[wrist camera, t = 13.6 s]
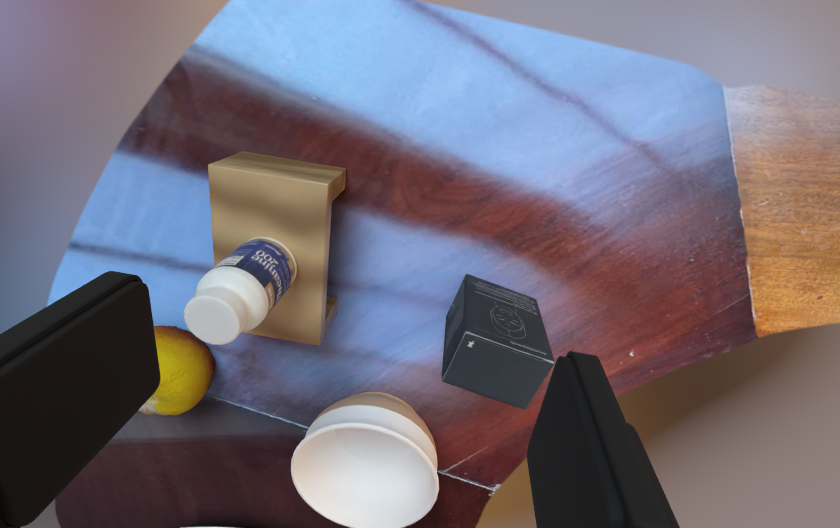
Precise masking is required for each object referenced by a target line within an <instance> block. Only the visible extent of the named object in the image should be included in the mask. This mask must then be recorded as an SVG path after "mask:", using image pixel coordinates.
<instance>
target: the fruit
mask: <svg viewBox="0 0 840 528" xmlns="http://www.w3.org/2000/svg"><path fill="white" fill-rule="evenodd" d="M154 333H155V340H156V347H157V354H158V361H159V368H160V375H161V379H160V384H159V387H158V388H157V390H156V392H155V393H154V394H153V395H152V396H151V397H150V398H149V399H148V400H147V401H146V403H145V404H144V405H143V406H142V407H141V408H140V409H139V410H138V411H141V412H143V413H144V414H150V415H152V414H155V413H156V414H160V415H178V414H181V413H184V412H186V411H188V410H190V409H191V408H193V407H194V406H195V405H196V404H197V403H198V402H199V401H200V400H201V399H202V398H203V396H204V395H205V393H206V392H207V390H208V389H209V387H210V384H211V382H212V377H213V373H214V371H215V370H214V369H215V359H214V357H213V356H212V354H211V352H210V350H209V349H208V347H207V346H206V344H205V343H204V342H203V341H201V340H200V339H199V338H197V337H196V336H195V335H193V334H192V333H191V332H189V331H187V330H182V329H179V328H177V327H176V326H175V327H174V326H173V327H172V326H168V327H167V326H155V327H154Z"/></svg>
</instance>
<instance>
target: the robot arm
mask: <svg viewBox="0 0 840 528" xmlns="http://www.w3.org/2000/svg"><path fill="white" fill-rule="evenodd" d="M160 379H161V375H160V368H159V361H158V354H157V347H156V340H155V333H154V326H153V319H152V312H151V304H150V297H149V290H148V287H147V285H146V284H144V283H143V282H142V280H141V278H140V277H138V276H137V275H132V274H126V273H120V272H114V271H109V272H106V273H104V274H102V275H101V276H99V277H97V278H95V279H94V280H92V281H90V282H89V283H87V284H85V285H83V286H82V287H80V288H78V289H77V290H75V291H73V292H71V293H70V294H68V295H66V296H65V297H63V298H61V299H60V300H58V301H56V302H54V303H53V304H51V305H49V306H48V307H46V308H44V309H43V310H41V311H39V312H37V313H36V314H34V315H32V316H31V317H29V318H27V319H25V320H24V321H22V322H20V323H19V324H17V325H15V326H13V327H12V328H10V329H8V330H7V331H5V332H3V333H2V334H0V528H20V527H21V526H25V525H28V524H29V523H31V522H32V521H34V520H35V518H37V517H38V516H39V515H40V513H41V512H42V511H43V510H44V509H45V508H46V507H47V506H48V505H49V504H50V503H51V502H52V501H53V500H54V499H55V498H56V497H57V496H58V495H59V494H60V492H61V491H62V490H63V489H64V488H65V487H66V486H67V485H68V484H69V483H70V482H71V481H72V480H73V479H74V478H75V477H76V476H77V474H78V473H79V472H80V471H81V470H82V469H83V468H84V467H85V466H86V465H87V464H88V463H89V462H90V461H91V460H92V459H93V458H94V456H95V455H96V454H97V453H98V452H99V451H100V450H101V449H102V448H103V447H104V446H105V445H106V444H107V443H108V442H109V441H110V440H111V438H112V437H113V436H114V435H115V434H116V433H117V432H118V431H119V430H120V429H121V428H122V427H123V426H124V425H125V424H126V423H127V422H128V420H129V419H130V418H131V417H132V416H133V415H134V414H135V413H136V412H137V411H138V410H139V409H140V408H141V407H142V406H143V405H144V404H145V403H146V401H147V400H148V399H149V398H150V397H151V396H152V395H153V394H154V393H155V392H156V390H157V388H158V387H159V384H160ZM527 461H528V468H529V475H530V482H531V489H532V496H533V504H534V511H535V517H536V524H537V528H680V527H679V525H678V523H677V521H676V518H675V516H674V514H673V512H672V510H671V507H670V505H669V503H668V501H667V498H666V496H665V494H664V491H663V489H662V487H661V485H660V483H659V480H658V478H657V476H656V474H655V472H654V469H653V467H652V465H651V463H650V460H649V458H648V456H647V454H646V451H645V449H644V447H643V445H642V442H641V440H640V438H639V436H638V433H637V432H636V430H635V428H634V427H633V426H632V425H630V424H628V423H626V421H625V419H624V416H623V414H622V411H621V409H620V407H619V404H618V402H617V400H616V397H615V395H614V393H613V390H612V388H611V386H610V384H609V381H608V379H607V377H606V374H605V372H604V370H603V367H602V365H601V363H600V360H599V358H598V357H597V356H595V355H589V354H583V353H578V352H572V351H570V352H569V353H568V354H567V355H566V357H562V356H560V357H559V358H558V359H557V361H556V364H555V367H554V370H553V373H552V376H551V379H550V382H549V385H548V388H547V391H546V394H545V397H544V400H543V403H542V406H541V409H540V412H539V415H538V418H537V421H536V424H535V427H534V430H533V433H532V436H531V439H530V442H529V445H528V452H527Z"/></svg>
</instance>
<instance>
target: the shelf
mask: <svg viewBox="0 0 840 528" xmlns="http://www.w3.org/2000/svg"><path fill="white" fill-rule="evenodd" d="M208 173H209V188H210V203H211V218H212V233H213V248H214V263H215V266H216V265H217V264H218V263H220V262H221V261H222V260H223V259H225V258H226V257H227V256H228V255H230V254H231V253H232V252H233V251H235V250H236V249H237V248H238V247H240V246H241V245H243V244H244V243H245V242H246V241H248V240H250V239H252V238H255V237H269V238H273V239H275V240H278V241H280V242H281V243H283V244H284V245H285V246H286V247H287V248H288V249H289V250H290V251H291V253H292V254H293V256H294V258H295V261H296V264H297V273H296V277H295V279H294V281H293V283H292V284H291V286H290V287H289V288H288V290H287V291H286V292H285V293H284V294H283V296H282V297H281V298H280V299H279V301H278V302H277V303H276V304H275V306H274V307H273V308H272V310H271V311H270V312H269V313H268V315H267V316H266V317H265V319H264V320H263V321H262V322H261V323H260V324H259V325H258V326H257V327H255V328H254V329H252V330H249V331H246V332H243V333H249V334H255V335H260V336H266V337H272V338H277V339H283V340H288V341H294V342H300V343H305V344H311V345H317V346H320V344H321V343H322V341H323V339H324V337H325V335H326V333H327V331H328V329H329V327H330V325H331V323H332V321H333V320H334V318H335V316H336V314H337V300H338V299H337V298H333V297H328V296H327V278H328V260H329V242H330V224H331V206H332V201H333V200H334V199H335V198H336V197H337V196H338V195H339V194H340V193H341V192H342V191H343V190H344V189H345V181H346V168H341V167H335V166H329V165H323V164H317V163H311V162H305V161H299V160H293V159H286V158H280V157H274V156H268V155H262V154H256V153H250V152H244V151H242V152H239V153H237V154H234V155H232V156H229V157H227V158H224V159H222V160H219V161H216V162H214V163H211V164H209V165H208Z"/></svg>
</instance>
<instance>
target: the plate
mask: <svg viewBox="0 0 840 528" xmlns="http://www.w3.org/2000/svg"><path fill="white" fill-rule="evenodd" d="M180 528H243V527H231V526H187V527H180Z"/></svg>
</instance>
